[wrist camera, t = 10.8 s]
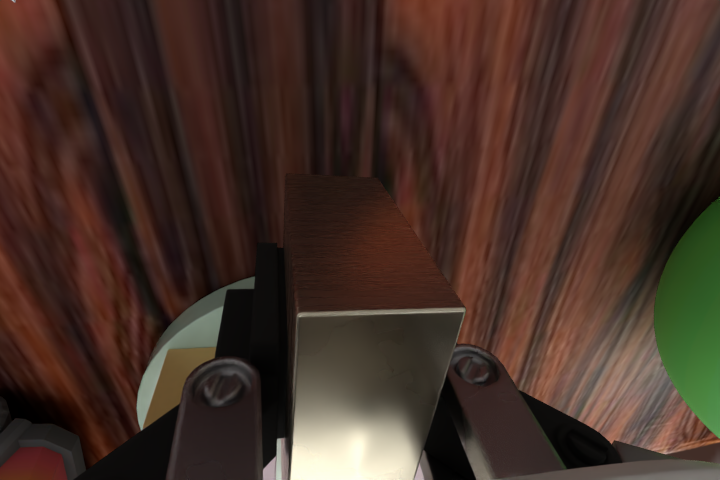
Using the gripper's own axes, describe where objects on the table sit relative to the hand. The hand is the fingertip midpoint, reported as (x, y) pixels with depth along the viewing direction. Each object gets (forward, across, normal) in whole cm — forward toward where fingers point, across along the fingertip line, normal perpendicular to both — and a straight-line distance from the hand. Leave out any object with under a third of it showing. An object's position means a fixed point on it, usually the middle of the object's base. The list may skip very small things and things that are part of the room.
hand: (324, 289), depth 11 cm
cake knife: (0, 0, +7) cm, 7 cm away
